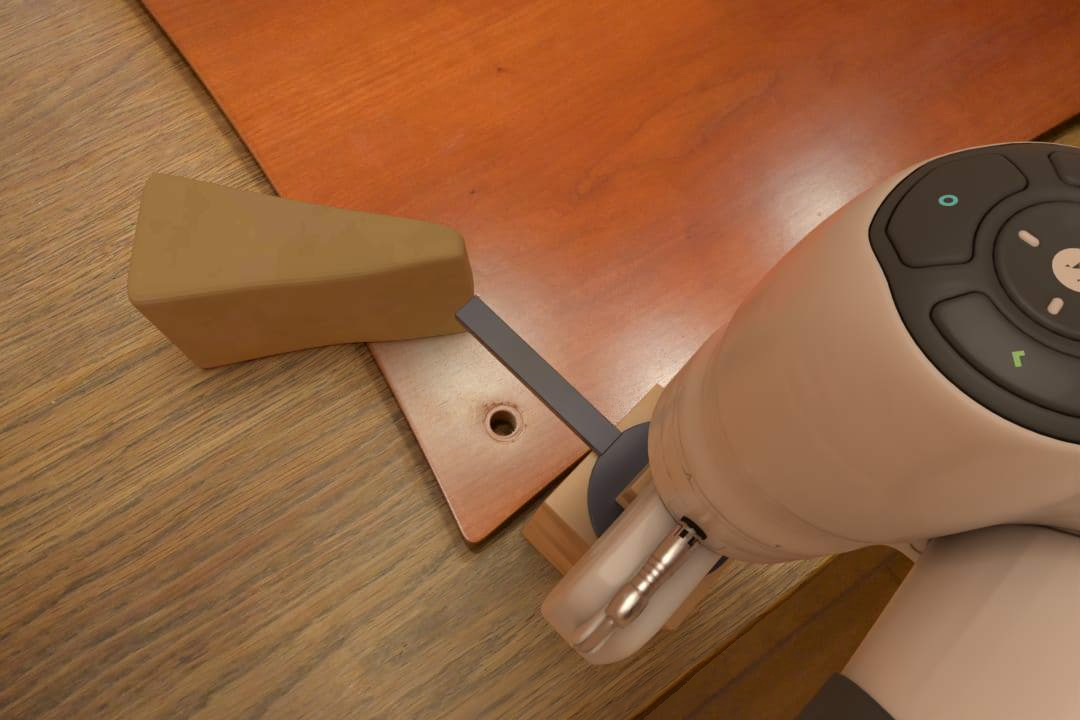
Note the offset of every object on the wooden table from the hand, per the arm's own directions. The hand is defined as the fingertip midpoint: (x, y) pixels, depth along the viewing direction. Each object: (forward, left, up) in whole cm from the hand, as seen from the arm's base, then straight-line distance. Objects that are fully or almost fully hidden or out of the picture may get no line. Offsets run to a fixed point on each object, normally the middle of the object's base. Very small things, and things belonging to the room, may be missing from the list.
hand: (675, 495), depth 43 cm
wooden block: (0, 0, -1) cm, 1 cm away
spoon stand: (+6, 0, -20) cm, 21 cm away
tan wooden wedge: (+28, +3, -20) cm, 35 cm away
